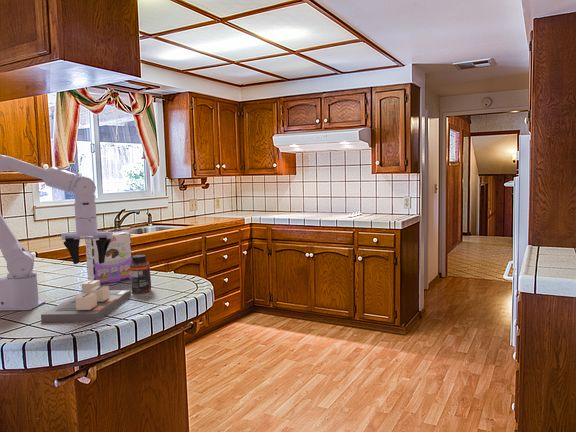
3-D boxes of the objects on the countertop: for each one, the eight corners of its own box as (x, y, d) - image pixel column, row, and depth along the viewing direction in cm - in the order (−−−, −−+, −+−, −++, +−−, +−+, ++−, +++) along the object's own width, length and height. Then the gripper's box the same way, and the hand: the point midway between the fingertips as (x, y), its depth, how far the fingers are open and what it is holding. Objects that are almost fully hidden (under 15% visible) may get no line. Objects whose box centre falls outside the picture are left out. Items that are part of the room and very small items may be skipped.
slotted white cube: (76, 310, 116) (75, 297, 115) (83, 305, 120) (83, 293, 119) (90, 309, 116) (89, 297, 115) (97, 305, 120) (96, 292, 119)
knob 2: (90, 301, 123) (89, 289, 123) (97, 297, 127) (96, 286, 127) (103, 301, 123) (102, 289, 123) (109, 297, 127) (109, 285, 127)
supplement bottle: (144, 288, 147) (142, 253, 146) (155, 290, 143) (153, 255, 142) (127, 292, 142) (125, 256, 141) (138, 295, 138) (136, 258, 137)
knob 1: (82, 294, 131) (81, 283, 131) (88, 291, 135) (88, 280, 135) (94, 294, 131) (93, 283, 130) (100, 290, 135) (99, 279, 134)
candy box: (126, 276, 165) (123, 231, 163) (133, 278, 161) (131, 232, 159) (87, 283, 155) (84, 235, 154) (94, 286, 151) (91, 236, 150)
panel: (41, 322, 114) (40, 313, 114) (85, 297, 137) (84, 289, 137) (96, 321, 114) (95, 312, 114) (131, 296, 137) (130, 289, 136)
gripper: (54, 219, 131) (57, 266, 132) (104, 218, 130) (107, 265, 132) (67, 217, 138) (70, 261, 139) (114, 216, 137) (117, 260, 139)
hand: (89, 263), depth 136 cm, fingers open, 7 cm apart
